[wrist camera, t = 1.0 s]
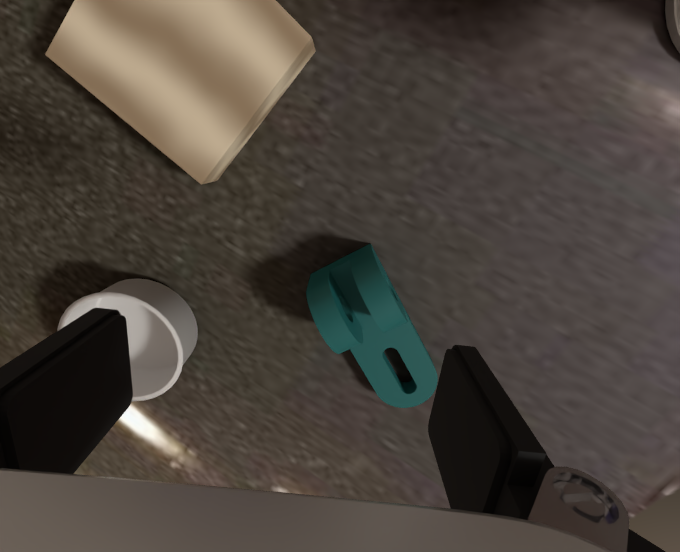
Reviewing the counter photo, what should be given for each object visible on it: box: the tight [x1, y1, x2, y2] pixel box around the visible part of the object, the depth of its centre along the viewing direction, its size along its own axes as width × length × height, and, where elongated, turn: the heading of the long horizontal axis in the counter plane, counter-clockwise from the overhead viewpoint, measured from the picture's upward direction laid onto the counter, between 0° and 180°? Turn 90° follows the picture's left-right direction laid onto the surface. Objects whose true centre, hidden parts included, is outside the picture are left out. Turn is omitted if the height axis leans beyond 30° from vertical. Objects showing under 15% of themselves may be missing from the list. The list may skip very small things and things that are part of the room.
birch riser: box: [45, 0, 315, 185], centre depth 28 cm, size 14×14×4 cm
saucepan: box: [57, 278, 198, 401], centre depth 37 cm, size 12×20×6 cm, turn 134°
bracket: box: [306, 243, 438, 408], centre depth 35 cm, size 18×7×8 cm, turn 28°
